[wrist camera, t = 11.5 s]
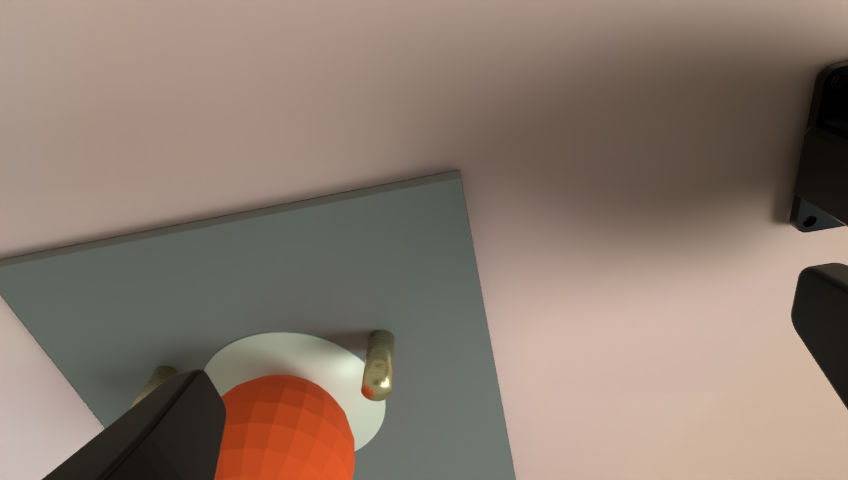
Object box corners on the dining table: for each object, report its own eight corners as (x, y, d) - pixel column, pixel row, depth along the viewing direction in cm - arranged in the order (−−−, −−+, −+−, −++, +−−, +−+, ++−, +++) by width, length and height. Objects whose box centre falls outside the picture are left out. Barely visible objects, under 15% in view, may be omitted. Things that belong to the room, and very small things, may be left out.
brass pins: (391, 327, 22) (387, 377, 19) (435, 470, 26) (437, 525, 24) (149, 367, 23) (114, 420, 20) (235, 497, 28) (215, 553, 25)
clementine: (390, 441, 25) (379, 597, 19) (268, 467, 26) (220, 623, 20) (330, 325, 21) (294, 472, 15) (190, 361, 22) (102, 512, 16)
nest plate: (459, 170, 19) (460, 178, 18) (516, 484, 28) (519, 499, 28) (-4, 260, 21) (-21, 271, 20) (197, 526, 30) (191, 541, 30)
